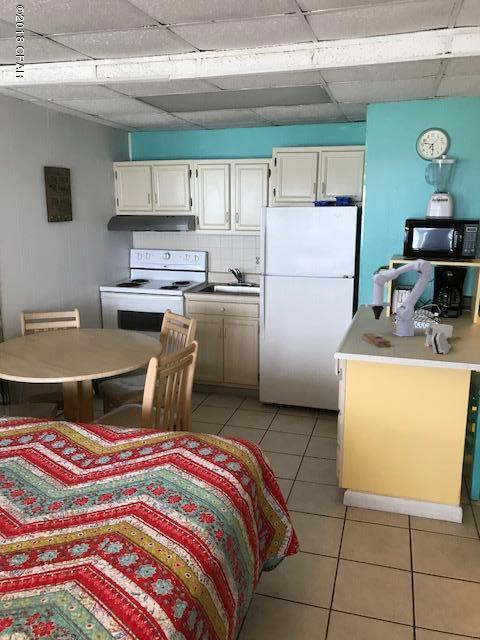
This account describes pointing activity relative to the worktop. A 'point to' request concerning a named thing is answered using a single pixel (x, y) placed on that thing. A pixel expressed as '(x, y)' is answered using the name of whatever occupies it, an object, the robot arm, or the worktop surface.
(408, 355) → the worktop surface
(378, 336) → the sage green cube
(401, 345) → the worktop surface
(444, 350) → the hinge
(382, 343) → the brown u-shaped block
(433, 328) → the shelf bracket
